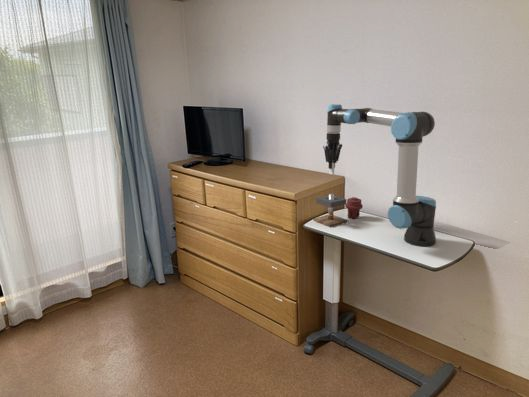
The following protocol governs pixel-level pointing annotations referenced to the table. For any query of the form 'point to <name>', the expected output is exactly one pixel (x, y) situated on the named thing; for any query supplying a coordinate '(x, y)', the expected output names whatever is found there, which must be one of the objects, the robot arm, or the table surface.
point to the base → (330, 223)
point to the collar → (331, 201)
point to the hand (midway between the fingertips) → (331, 173)
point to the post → (330, 210)
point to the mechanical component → (353, 207)
